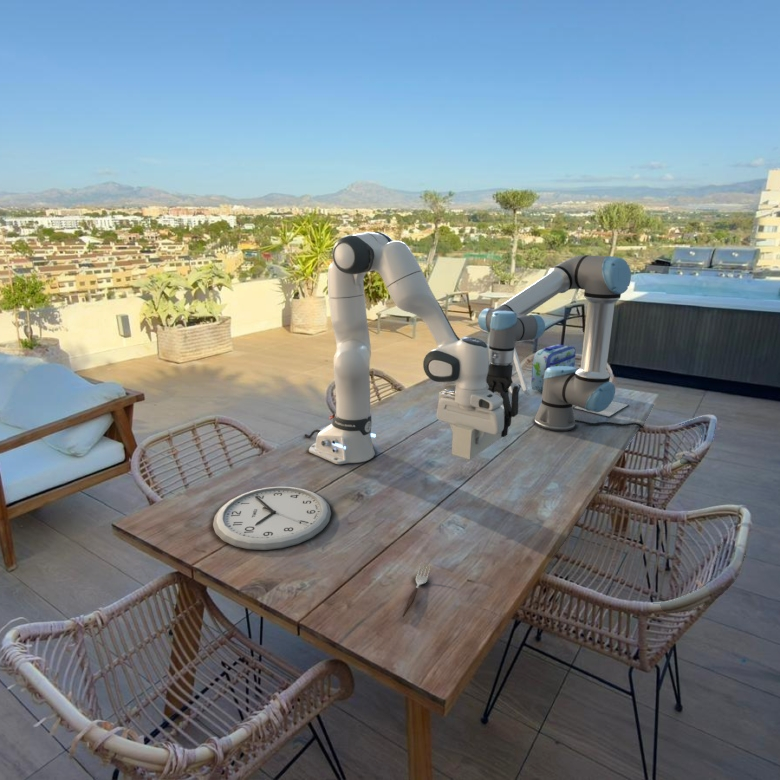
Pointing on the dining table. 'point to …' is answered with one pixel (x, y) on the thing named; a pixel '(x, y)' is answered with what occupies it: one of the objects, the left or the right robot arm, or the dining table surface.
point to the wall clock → (272, 518)
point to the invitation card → (608, 409)
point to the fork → (419, 580)
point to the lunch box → (550, 362)
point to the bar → (470, 441)
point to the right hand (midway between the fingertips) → (494, 432)
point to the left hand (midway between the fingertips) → (467, 441)
